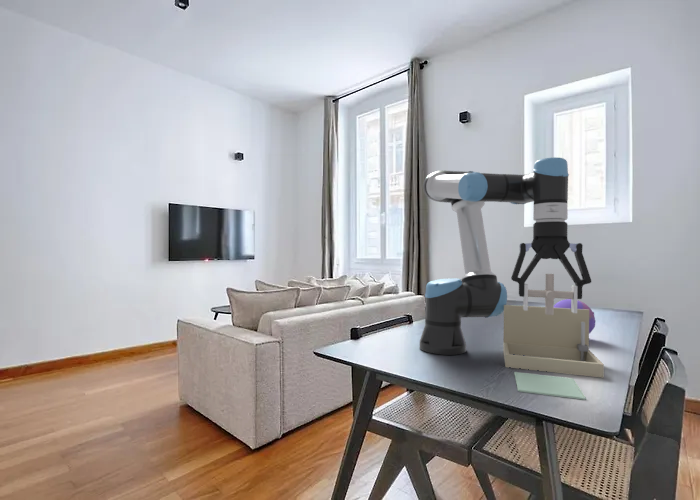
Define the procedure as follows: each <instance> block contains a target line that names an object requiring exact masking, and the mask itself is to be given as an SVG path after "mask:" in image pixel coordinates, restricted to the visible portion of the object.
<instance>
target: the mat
mask: <svg viewBox="0 0 700 500" xmlns="http://www.w3.org/2000/svg"><path fill="white" fill-rule="evenodd" d="M513 373H514V378H515V383H516V387H517V388H516V389H517V392H519V393H520V392H521V393H527V394H536V395H544V396H552V397H561V398H569V399H576V400H582V401H586V400H587V398H586V396H585V394H584V393H583V391H582V390H581V389H580V386H579V385H578V384H577V381H575V379H574V378H571V377H565V376H564V377H563V376H554V375H544V374H539V373H538V374H537V373H530V372H529V373H528V372H519V371H518V372H517V371H514V372H513Z"/></svg>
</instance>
